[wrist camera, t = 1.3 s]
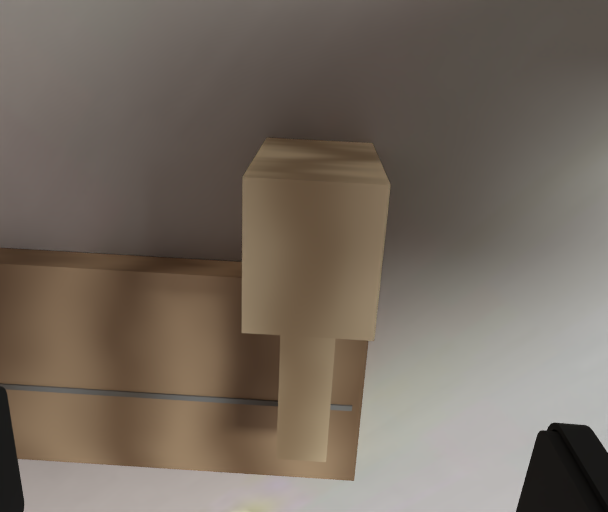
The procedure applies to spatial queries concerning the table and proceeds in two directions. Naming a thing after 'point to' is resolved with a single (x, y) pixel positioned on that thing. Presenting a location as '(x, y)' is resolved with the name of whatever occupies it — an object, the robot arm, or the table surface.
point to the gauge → (311, 269)
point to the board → (153, 367)
